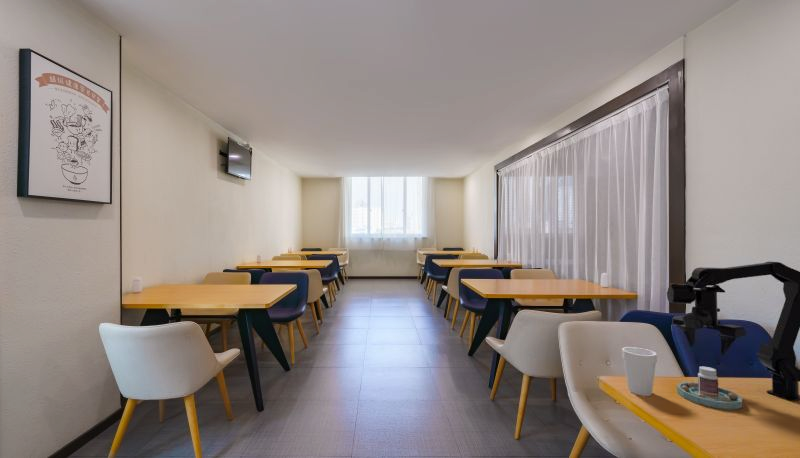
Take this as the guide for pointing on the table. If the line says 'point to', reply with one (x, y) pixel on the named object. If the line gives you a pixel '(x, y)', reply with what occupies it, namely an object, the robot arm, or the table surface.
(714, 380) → the pill bottle
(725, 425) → the table surface
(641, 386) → the foam cup
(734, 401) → the tray
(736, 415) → the table surface
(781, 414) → the table surface
